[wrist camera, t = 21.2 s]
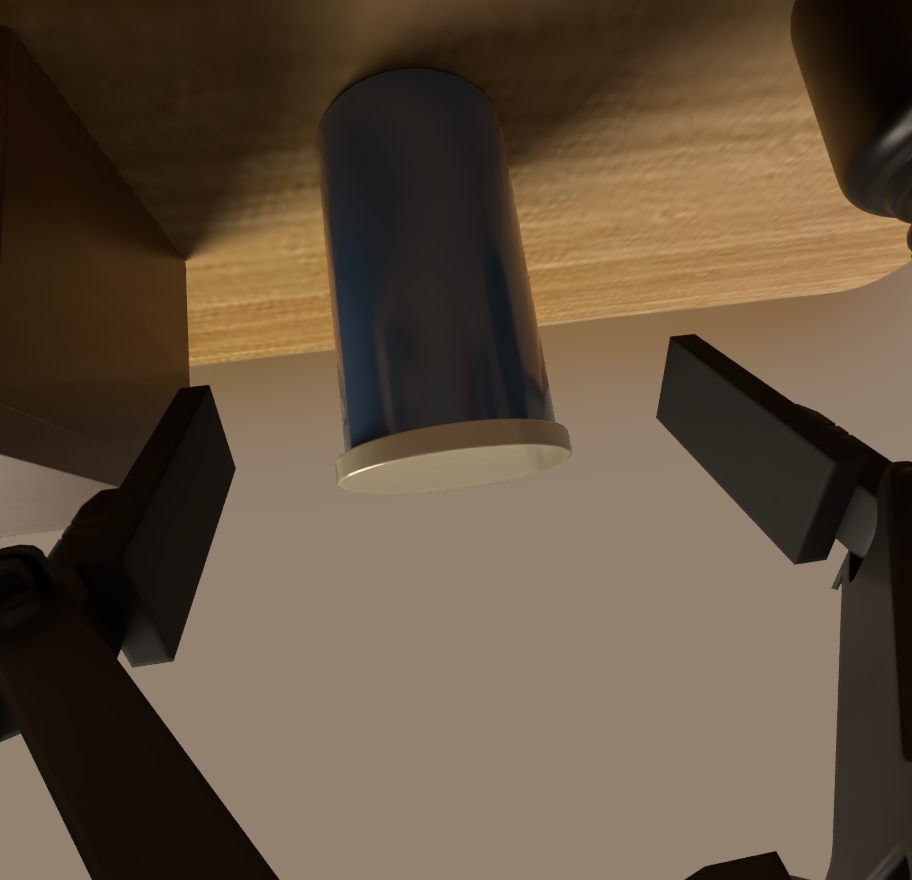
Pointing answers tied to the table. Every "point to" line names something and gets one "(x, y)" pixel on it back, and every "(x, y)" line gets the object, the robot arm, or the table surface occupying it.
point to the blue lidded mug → (430, 291)
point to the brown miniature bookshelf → (75, 309)
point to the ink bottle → (862, 96)
